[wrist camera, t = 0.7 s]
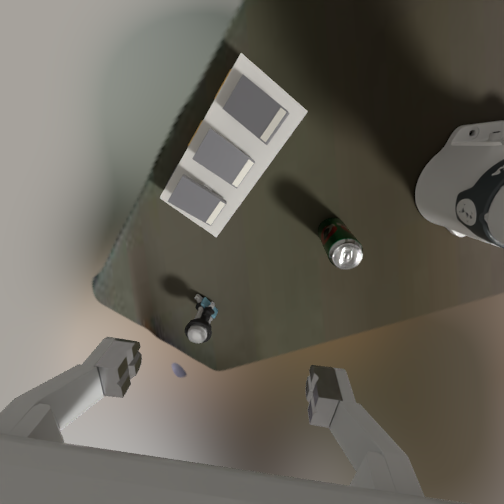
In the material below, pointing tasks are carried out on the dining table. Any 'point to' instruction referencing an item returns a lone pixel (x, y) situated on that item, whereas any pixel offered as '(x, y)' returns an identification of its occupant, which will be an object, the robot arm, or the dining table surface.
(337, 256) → the soda can
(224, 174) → the middle rocker
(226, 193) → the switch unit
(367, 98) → the dining table surface
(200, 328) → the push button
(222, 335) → the dining table surface
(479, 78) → the dining table surface
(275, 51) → the dining table surface
